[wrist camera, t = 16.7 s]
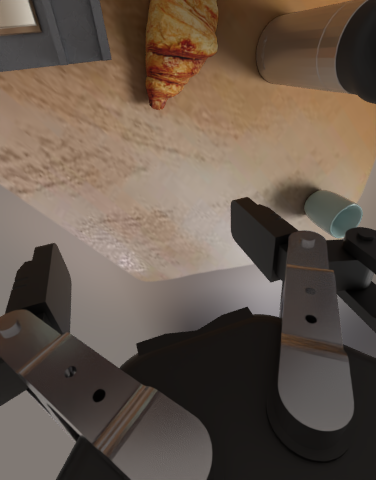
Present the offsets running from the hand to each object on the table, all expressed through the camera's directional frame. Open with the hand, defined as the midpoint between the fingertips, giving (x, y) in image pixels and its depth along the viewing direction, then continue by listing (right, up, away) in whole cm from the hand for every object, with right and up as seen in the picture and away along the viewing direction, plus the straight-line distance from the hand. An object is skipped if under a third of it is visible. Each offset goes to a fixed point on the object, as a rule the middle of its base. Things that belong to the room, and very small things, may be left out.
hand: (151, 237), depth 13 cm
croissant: (0, +29, +27) cm, 40 cm away
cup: (+31, +9, +52) cm, 61 cm away
